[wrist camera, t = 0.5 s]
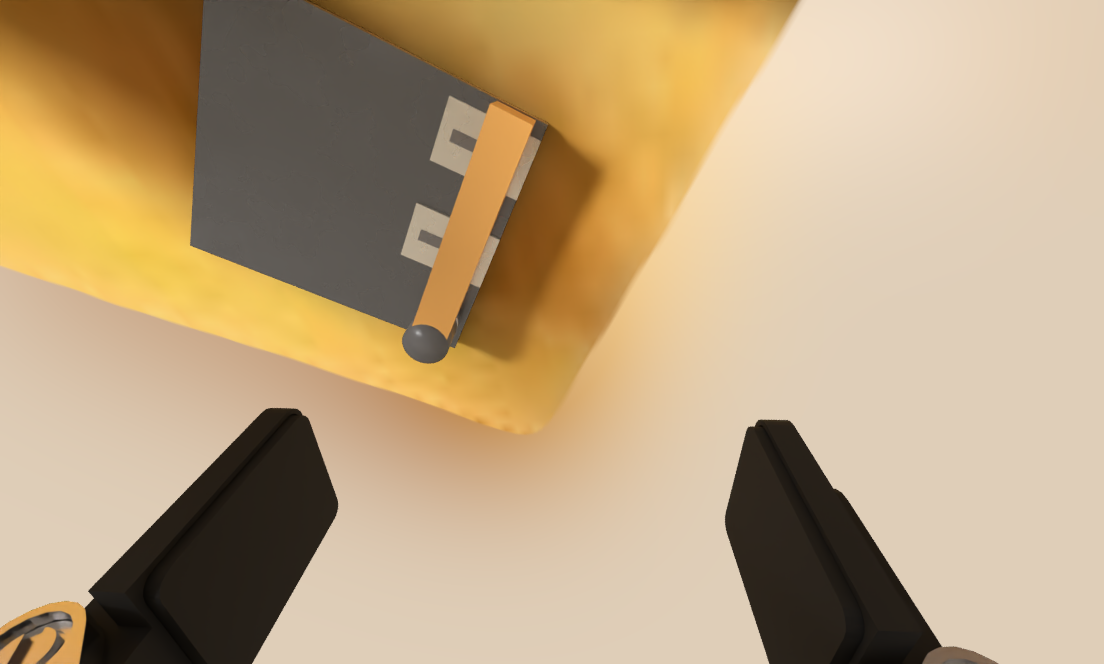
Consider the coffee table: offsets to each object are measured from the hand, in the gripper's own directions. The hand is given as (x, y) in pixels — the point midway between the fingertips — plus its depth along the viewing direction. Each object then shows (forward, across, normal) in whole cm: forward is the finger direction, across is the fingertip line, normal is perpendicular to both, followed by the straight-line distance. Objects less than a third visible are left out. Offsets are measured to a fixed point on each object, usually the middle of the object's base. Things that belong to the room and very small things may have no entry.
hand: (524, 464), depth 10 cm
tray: (+24, +14, -1) cm, 28 cm away
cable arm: (+22, +6, +2) cm, 23 cm away
